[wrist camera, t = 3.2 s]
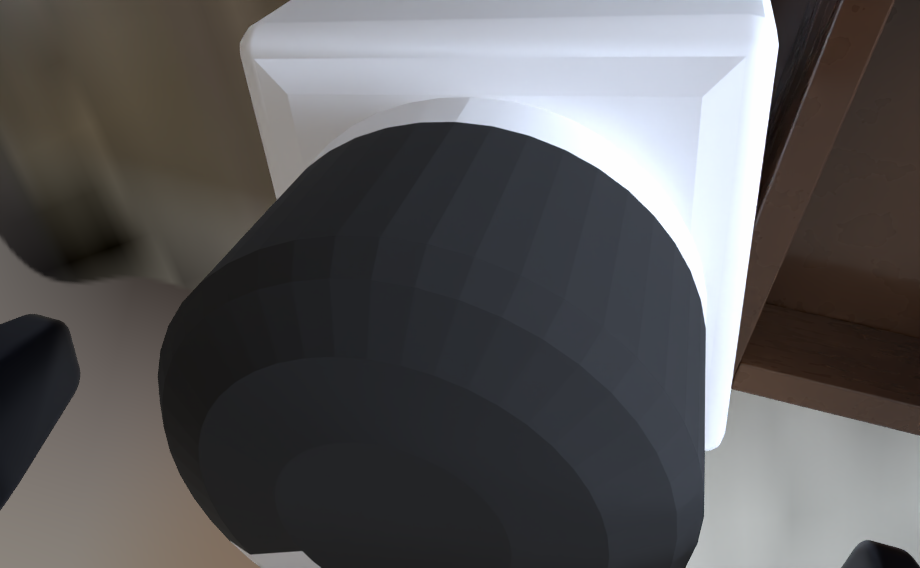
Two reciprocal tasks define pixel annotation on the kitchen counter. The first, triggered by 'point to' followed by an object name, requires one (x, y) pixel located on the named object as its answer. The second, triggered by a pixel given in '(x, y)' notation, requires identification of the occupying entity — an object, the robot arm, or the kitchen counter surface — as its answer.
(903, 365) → the holder
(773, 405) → the kitchen counter surface
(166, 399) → the medicine bottle
